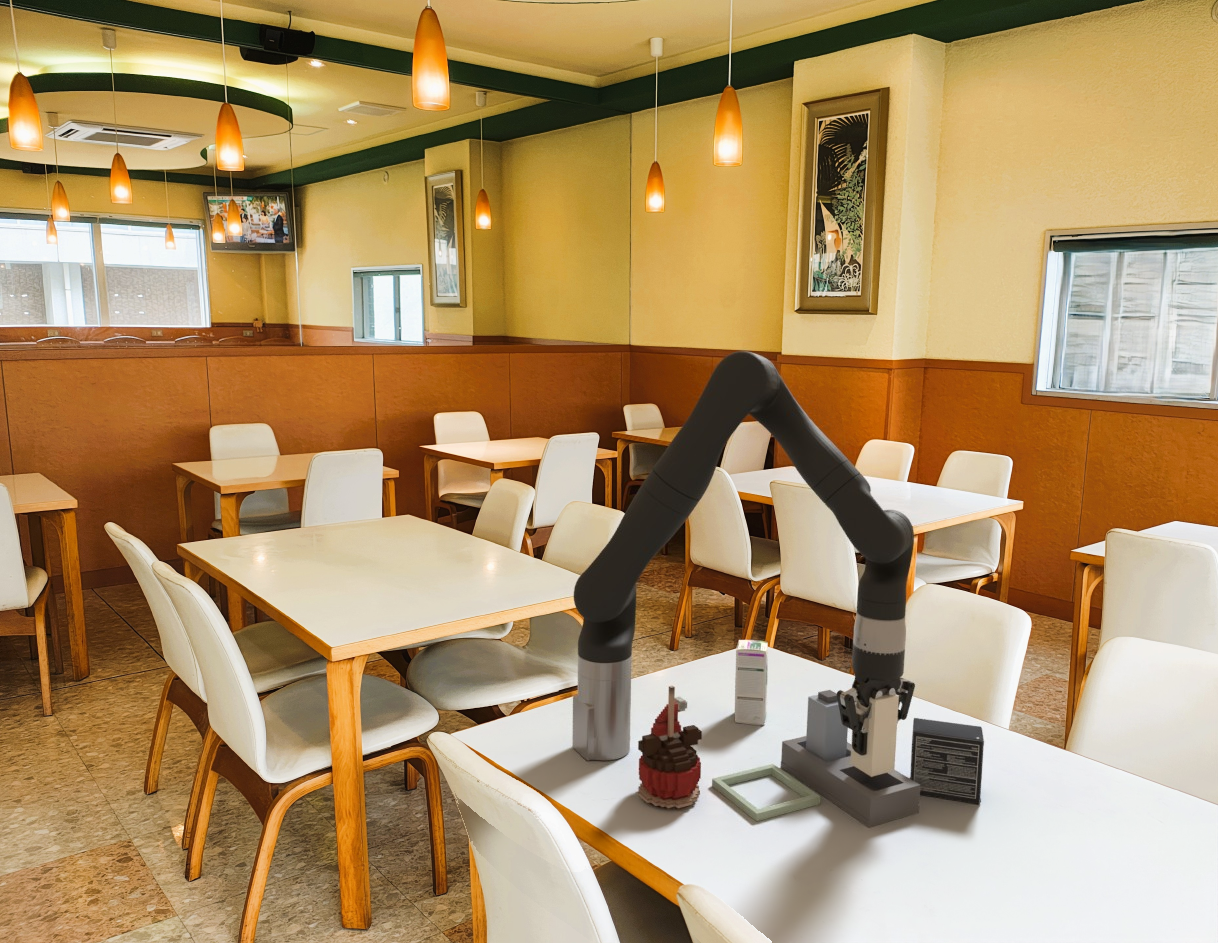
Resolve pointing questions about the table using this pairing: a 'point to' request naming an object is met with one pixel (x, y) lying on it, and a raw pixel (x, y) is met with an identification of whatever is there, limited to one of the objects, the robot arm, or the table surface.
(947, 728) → the small box
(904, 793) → the outlet strip
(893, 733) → the plug
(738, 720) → the syrup box
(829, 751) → the blue-grey knobbed block
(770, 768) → the tray frame
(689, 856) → the table surface
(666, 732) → the cake
